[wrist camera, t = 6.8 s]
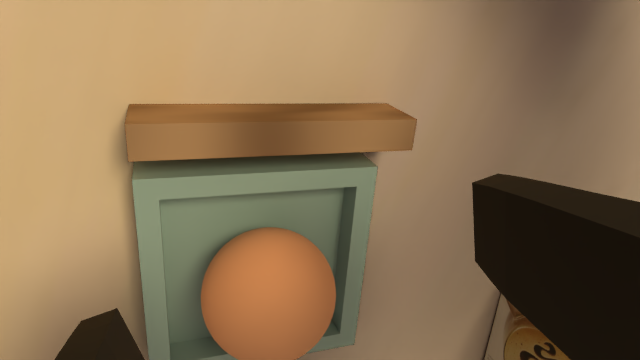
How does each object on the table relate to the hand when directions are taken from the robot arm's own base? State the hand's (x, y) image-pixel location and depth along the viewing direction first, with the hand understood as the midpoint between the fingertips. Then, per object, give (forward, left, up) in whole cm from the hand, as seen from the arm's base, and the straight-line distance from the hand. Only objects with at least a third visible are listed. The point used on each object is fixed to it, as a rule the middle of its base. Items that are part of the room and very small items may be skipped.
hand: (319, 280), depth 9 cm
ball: (-1, +5, -9) cm, 11 cm away
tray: (-1, +5, -10) cm, 11 cm away
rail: (-1, -1, -10) cm, 10 cm away
